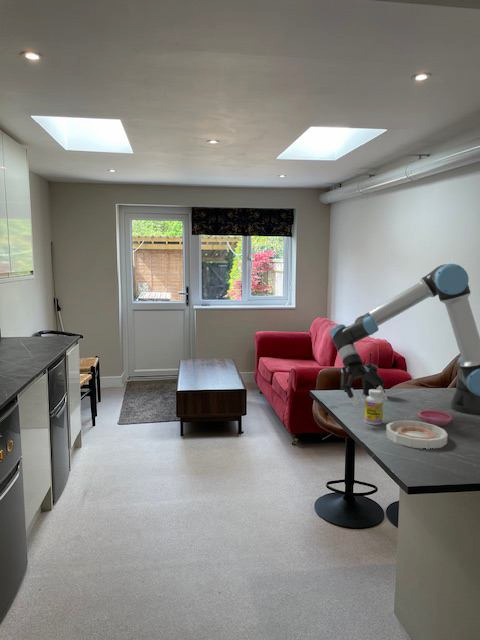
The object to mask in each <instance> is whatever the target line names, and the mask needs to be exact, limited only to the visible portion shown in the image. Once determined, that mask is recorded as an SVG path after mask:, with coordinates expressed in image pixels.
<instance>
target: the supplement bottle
mask: <svg viewBox="0 0 480 640" xmlns="http://www.w3.org/2000/svg"><path fill="white" fill-rule="evenodd" d="M376 389H377V388H376ZM376 389H370V390H369V396H367V395H366V398H365V404H364V405H365V406H364V407H365V408H364V422H365V423H366V424H368V425H372V426H379V425H381V424H382V423H383V412H384V403H383V398H382V397H380V395H381V391H380V390H376Z"/></svg>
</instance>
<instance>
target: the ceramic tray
mask: <svg viewBox="0 0 480 640" xmlns="http://www.w3.org/2000/svg"><path fill="white" fill-rule="evenodd" d="M385 427H386V428H385V434H386V437H387V439H389V440H391V441H392V442H394V444H395V443H396V444H398V445H401V446H405V447H409V448H415V449H423V448H426V449H425V450H431V449H432V448H433V449H440V448H443V447H444V446H445V445H447V444H448V433H447V431H446V429H444V428H441V427H440V426H436V425H433V424H428V423H424V422H423V421H418V420H410V419H409V420H407V419H404V420H402V419H401V420H392V421H391V422H389V423H387V424H386V425H385ZM430 448H431V449H430Z"/></svg>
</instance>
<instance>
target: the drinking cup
mask: <svg viewBox="0 0 480 640" xmlns="http://www.w3.org/2000/svg"><path fill="white" fill-rule="evenodd" d="M368 360H369V361H368V362H369V363H366V364H363V366H364V367H367V366H368V365H370V366H371V368H372V369H373V370H374V371H375V372H376V373H377V374H378V369H379V367H378V366H377V365H375V364H374V363H372V353H371V352H370V353H369V359H368ZM365 375H366V374H364V376H365ZM375 388H376V386H374V385H373V384H371V383H370V382H369V381H367V380H366V379H363V378H362V394H363V395H364V394H365V395H364V396H367V395H369V390H370V389H375Z"/></svg>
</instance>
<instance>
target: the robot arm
mask: <svg viewBox="0 0 480 640" xmlns="http://www.w3.org/2000/svg"><path fill="white" fill-rule="evenodd" d="M471 293H472V292H471V289H470V286H469V274H468V272H467V270H465V268H463V267H462V266H461V265H460V264H457V263H456V264H455V263H447V264H446V263H445V264H441V265H439V266H437V267H436V268H434V269H433V270H431V271H430V272H429V273H428V274H426V275H425V276H423V277H421V278H420V281H419V282H417V283H415V284H413V285H412V286H411V287H409V288H407V289H405V290H404V291H402V292H400V293H399V294H397V295H395V296H394V297H392V298H390V299H389V300H387V301H385V302H383V303H381V304H380V305H378V306H376V307H375V308H373V309H371V310H370V311H368V312H366V313H364V314H363V315H360V316H358V317H357V318H356V319H355V320H354V323H352V324H350V325H348V326H346V325H345V324H341V323H340V324H339V325H338V324H337V325H334V326H333V327H332V328H331V329H330V331H329V332H330V333H329V334H330V336H331V337H330V338H331V340H332V343H333V345H334V346H335V348H336V350H337V353H338V355H339V357H340V359H341V362H342V364H343V367H342V368H341V369H340V370H339V372H340V374H341V375H340V390H341V391H343V392H344V393H346V394H347V396H348V398H349V399H351V402H352V405H353V406H354V407H357V406H358V405H359V403H360V402H359V399H358V397H357V394H356V393H355V390H354V388H353V387H352V385H353V381H354V379H362V380H363V379H366V380H367V381H369V382H370V383H371V384H373V385H374V386H375V388H376V390H380V391H381V395H380V397H382V398H383V404H385V403H387V401H388V400H389V399H388V396H387V395H386V391H385V389H384V385H385V384H386V381H385V380H384V379H383V378H382V377H381V376H380V375H379V374H378V372H377V373H376V372H375V371H374V370H373V369H372V368H371V366H370V365H368V366H367V367H364V366H363V365H364V364H363V359H362V358H361V356H360V354H359V351H358V350H357V347H356V345H355V343H357V342H359V341H361V340H363V339H365V338H368V337H369V336H371V335H374V334H375V333H377V332H378V331H379V327H378V326H380V325H383V324H385V323H386V322H387V321H390V320H391V319H393V318H395V317H397V316H398V315H400V314H401V313H404V312H405V311H407V310H409V309H410V308H412V307H414V306H416V305H418V304H419V303H421V302H423V301H425V300H426V299H429V298H435V297H436V296H438V299H439V302H441V303H443V304H444V305H445V308H446V311H447V314H448V318H449V322H450V324H451V327H452V331H453V334H454V338H455V341H456V344H457V347H458V351H459V354H460V357H459V358H458V361H457V370H456V371H457V373H456V385H455V386H456V387H455V392H454V394H453V395H452V399H451V400H450V408H451V409H453V410H455V411H457V412H461V413H465V414H472V415H480V335H479V330H478V328H477V323H476V321H475V317H474V313H473V311H472V308H471V305H470V300H469V298H470V297H469V296H470V295H471ZM364 374H366V375H365V376H364ZM347 375H349V376H348V380H347Z"/></svg>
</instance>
